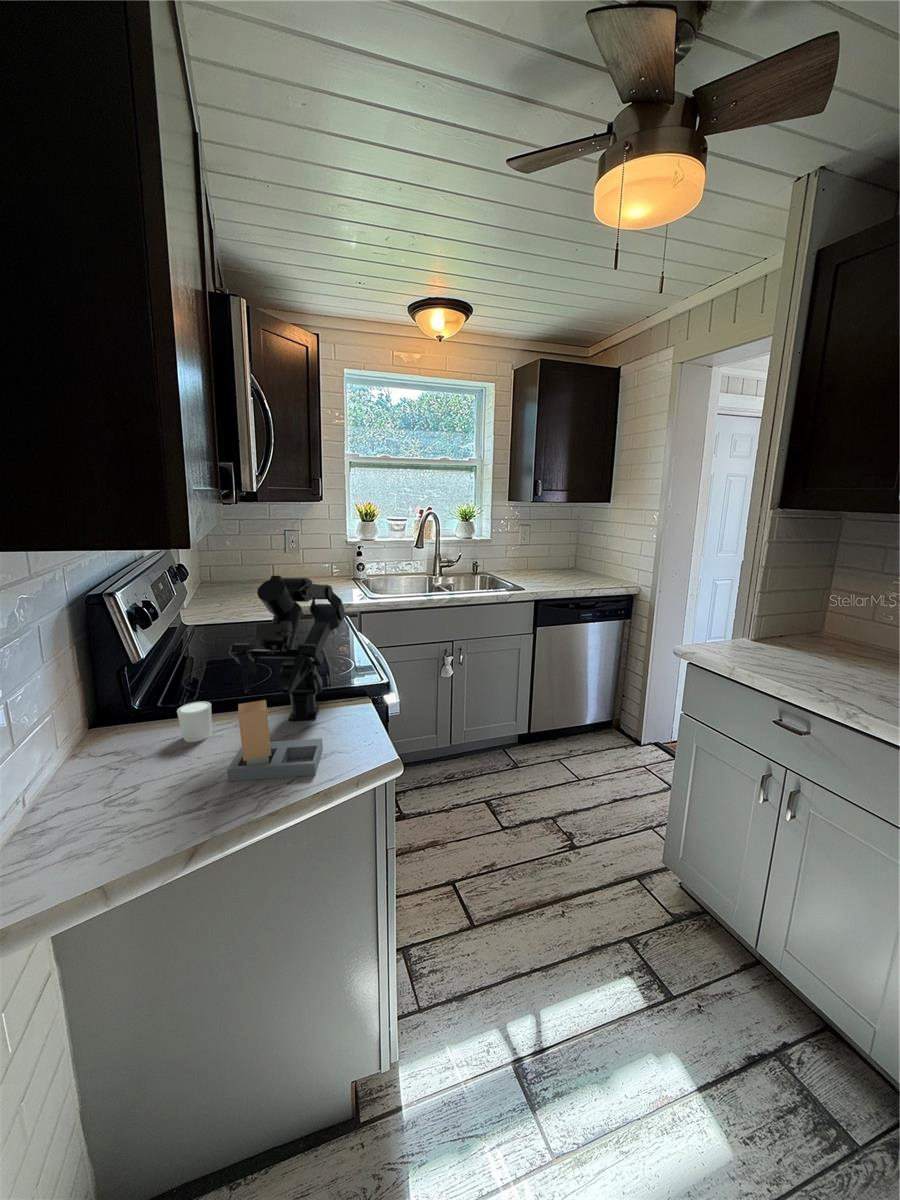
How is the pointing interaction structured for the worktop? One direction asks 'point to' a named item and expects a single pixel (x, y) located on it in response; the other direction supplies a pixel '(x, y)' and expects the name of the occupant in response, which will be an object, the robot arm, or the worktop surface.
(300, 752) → the socket block
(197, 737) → the white cylinder
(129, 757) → the worktop surface
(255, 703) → the plug
